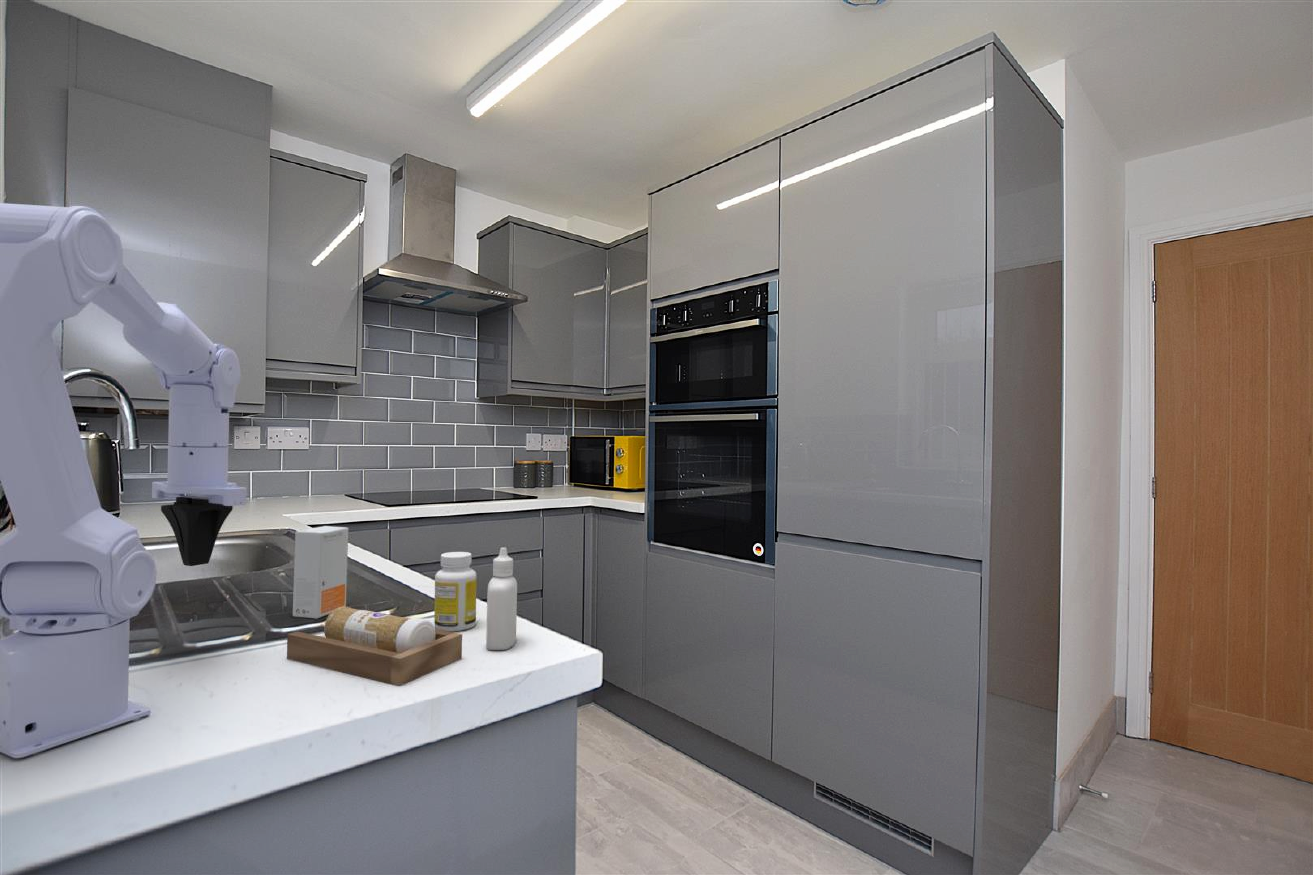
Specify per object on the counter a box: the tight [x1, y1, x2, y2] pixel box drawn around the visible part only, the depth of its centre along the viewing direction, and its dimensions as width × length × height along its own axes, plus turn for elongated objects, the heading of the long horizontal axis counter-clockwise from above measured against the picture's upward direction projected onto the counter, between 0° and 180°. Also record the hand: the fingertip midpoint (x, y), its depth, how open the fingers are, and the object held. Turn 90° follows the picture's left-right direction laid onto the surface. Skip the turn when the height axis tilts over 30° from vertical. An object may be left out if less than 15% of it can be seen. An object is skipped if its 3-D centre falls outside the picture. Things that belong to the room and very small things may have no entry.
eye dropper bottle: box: [485, 547, 518, 651], centre depth 81 cm, size 4×6×12 cm
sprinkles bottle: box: [323, 606, 436, 653], centre depth 77 cm, size 5×5×14 cm
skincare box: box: [292, 525, 349, 619], centre depth 93 cm, size 6×4×12 cm
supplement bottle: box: [434, 551, 477, 632], centre depth 88 cm, size 5×5×10 cm
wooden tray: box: [286, 628, 463, 686], centre depth 75 cm, size 9×17×3 cm, turn 66°
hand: (196, 564), depth 75 cm, fingers closed
